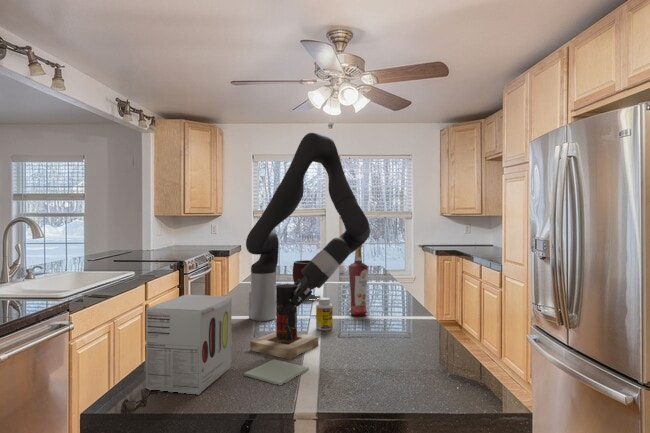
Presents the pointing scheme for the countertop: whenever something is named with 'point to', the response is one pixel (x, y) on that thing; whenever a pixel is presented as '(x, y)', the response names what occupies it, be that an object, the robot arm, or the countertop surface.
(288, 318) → the deodorant
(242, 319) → the countertop surface
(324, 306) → the supplement bottle
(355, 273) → the liquor
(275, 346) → the socket block
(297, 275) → the mate gourd
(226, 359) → the supplement box
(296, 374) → the plate
